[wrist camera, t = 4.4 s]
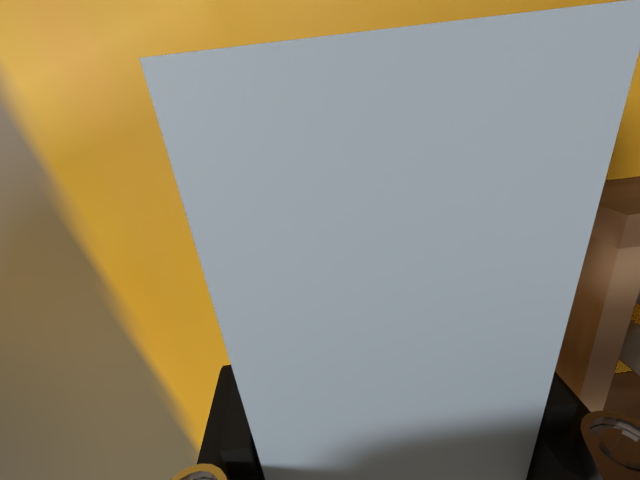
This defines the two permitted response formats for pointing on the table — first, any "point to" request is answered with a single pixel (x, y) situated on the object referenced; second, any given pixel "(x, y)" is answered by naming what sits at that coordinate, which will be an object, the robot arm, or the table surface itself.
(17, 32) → the table surface
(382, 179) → the grey rectangular block
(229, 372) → the robot arm
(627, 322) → the frame
